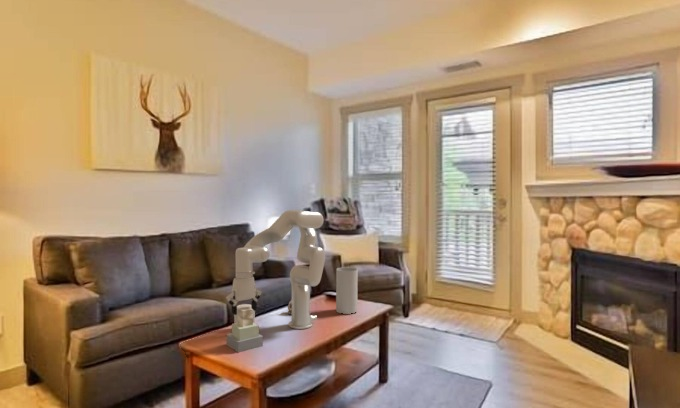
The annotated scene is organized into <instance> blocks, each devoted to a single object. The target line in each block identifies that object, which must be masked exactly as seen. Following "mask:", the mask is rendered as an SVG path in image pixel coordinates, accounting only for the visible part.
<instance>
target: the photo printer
mask: <svg viewBox="0 0 680 408" xmlns="http://www.w3.org/2000/svg"><path fill="white" fill-rule="evenodd" d="M236 306H237V315H234V314H233V317H234V318H233V319H234V320H233V321H234V323H238V309H240V308H245V307H249V308H251V309H252V305H251V304H248V303H242V304H239V305H236ZM255 313H256V311H254V310H253V322H254V323H255V324H256V321H255V320H256V319H255V318H256V317H255V316H256V314H255ZM234 323H233V324H234Z"/></svg>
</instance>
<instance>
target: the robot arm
mask: <svg viewBox="0 0 680 408" xmlns="http://www.w3.org/2000/svg"><path fill="white" fill-rule="evenodd" d="M323 225H324V216H323V214H322V213H321V212H318V211H306V210H299V209H298V210H297V209H287V210H285V211H284V212H283V213H282V214H281V215H280V216H279V217H278V218H276V220H275V221H274V222H273V223H272V225H270V226H269V227H268V228H267V229H264V230H263V231H261V232H259V233H257V234H255V235H254V236H252V238H250V239H249V240H248V241H247V243H245V245H244V246H243V247H237V248H236V250H235V277H234V278H233V281H232V289H231V293H229V294H228V295H227V296H225V299H226V301H227V302H228V304H230V306H231V313H232V314H233V316H234V315H237V306H238V305H237V304H238V302H242V301H248V300H251V304H250V305H252V309H253V310H254V311H255V312H256V311H257V307H258V306H257V305H258V304H257V302H258V300H260V298H261V294H262V290H260V289H257V288H256V282H255V277H254V275H255V274H256V271H254V269H253V264H255V263H259V264H261V263H264V262H267V261H268V259H269V258H270V251H269V249H268V248H267V247H265V246H267V245H269V244H274V243H277V242H280V241H282V240H284V238H285V237H286V236H287V234H289V232H291V231H292V229H293V228H298V229H299V232H300V238H299V243H298V248H297V252H296V253H297V254H296V258H297V261H298V262H300V263H301V264H307V265H309V266H307V265H300V264H299V265H294V266H293V267H292V268H291V269H290V271H289V279H290V284H291V300H292V314H291V320H290V321H289V322H288V327H289V328H291V329H294V330H304V329H305V330H306V329H310V328H311V327H312V326H313V320H317V318H318V317H317V315H311V313H310V312H311V311H310V310H311V292H310V291H311V289H310V287H316V286H318V285H319V284H320V282H321V280H322V275H323V271H324V267H325V262H326V253H325V250H324V248H322V247H320V246H316V243H317V237H318V236H317V232H316V229H319V228H321V227H322V226H323Z"/></svg>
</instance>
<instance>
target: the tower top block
mask: <svg viewBox="0 0 680 408" xmlns="http://www.w3.org/2000/svg"><path fill="white" fill-rule="evenodd" d="M259 326H260V325H258V323H256V322H255V323H254V322H253V325H249V326H244V327H242V326H241V325H239V324H238V323H232V324H231V334H232V335H233V336H234V337H236V338H237V339H239V340H245V339H249V338H254V337H258V336H259V334H260V331H259V330H260V329H259Z"/></svg>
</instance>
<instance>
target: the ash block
mask: <svg viewBox="0 0 680 408" xmlns="http://www.w3.org/2000/svg"><path fill="white" fill-rule="evenodd" d="M238 324H239V325H241V326H242V327H244V326H249V325H253V309H251V308H249V307H245V308H240V309H238Z"/></svg>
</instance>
